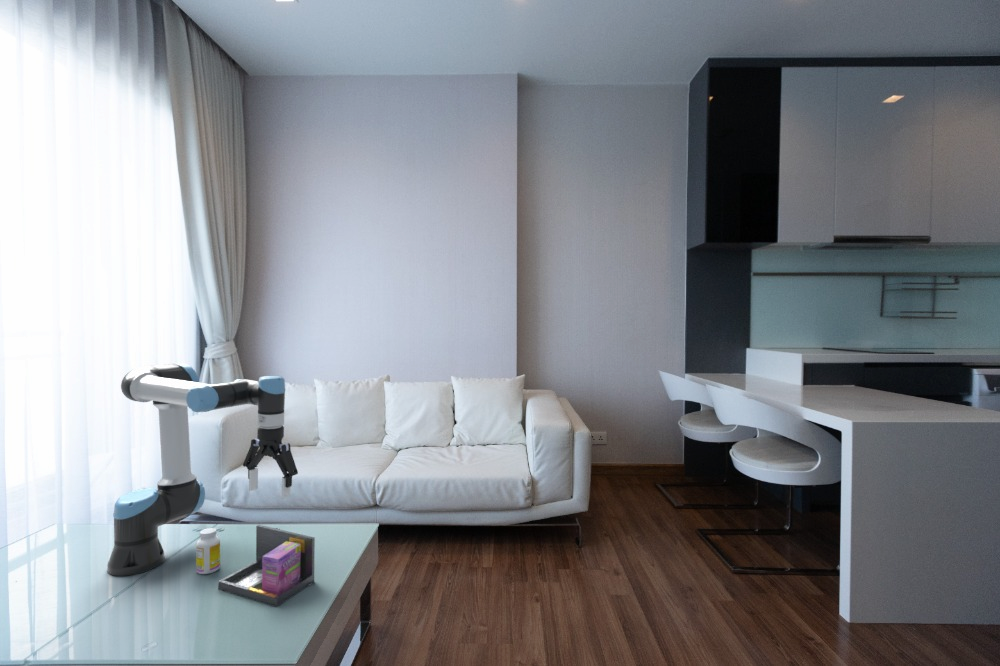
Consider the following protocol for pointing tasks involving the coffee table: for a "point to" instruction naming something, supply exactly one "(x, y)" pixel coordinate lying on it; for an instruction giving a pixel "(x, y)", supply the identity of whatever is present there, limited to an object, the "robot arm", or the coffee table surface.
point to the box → (281, 568)
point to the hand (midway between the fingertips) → (269, 493)
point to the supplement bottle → (208, 552)
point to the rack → (250, 576)
